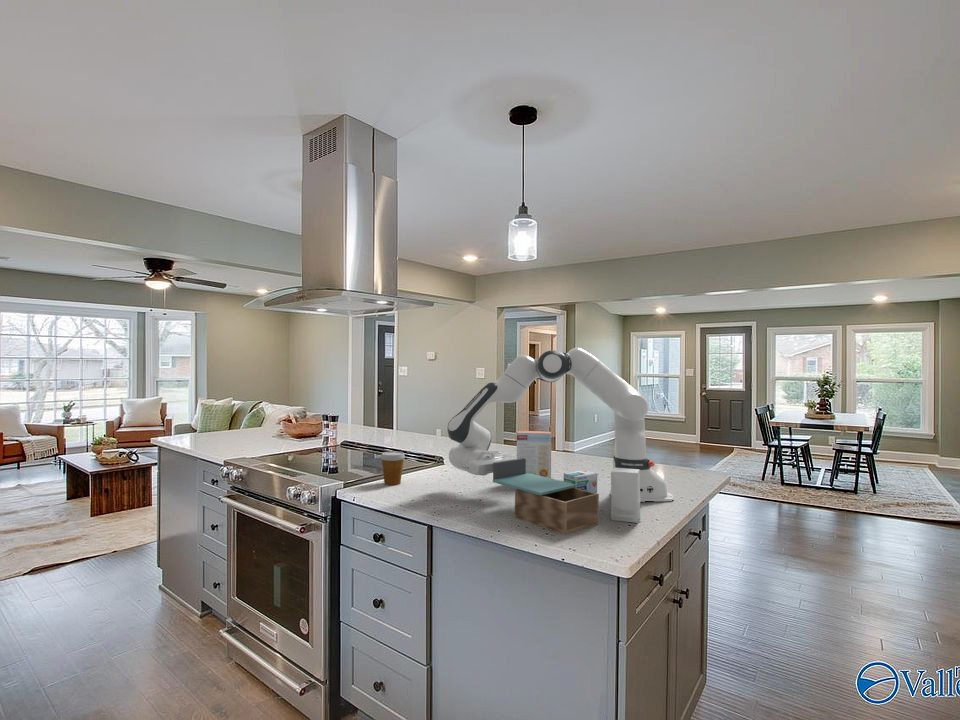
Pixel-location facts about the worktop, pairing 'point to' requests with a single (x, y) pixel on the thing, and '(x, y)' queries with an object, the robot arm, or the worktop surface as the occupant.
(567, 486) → the lid
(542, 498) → the crate
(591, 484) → the light bulb box
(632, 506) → the skincare box
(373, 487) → the worktop surface
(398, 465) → the disposable coffee cup
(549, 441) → the cracker box
